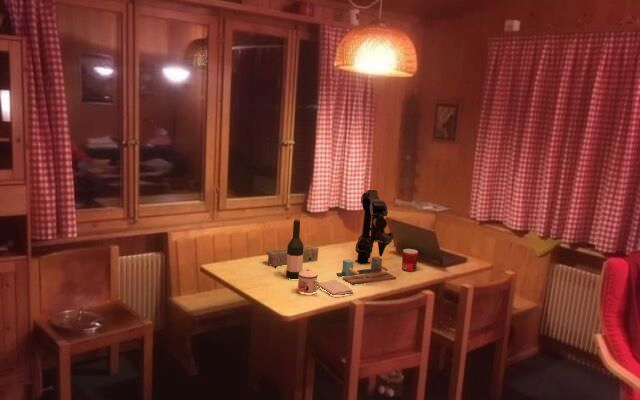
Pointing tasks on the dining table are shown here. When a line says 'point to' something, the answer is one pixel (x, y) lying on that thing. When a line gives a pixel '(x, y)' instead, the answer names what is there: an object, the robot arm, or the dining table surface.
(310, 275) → the teacup with lid
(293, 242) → the wine bottle
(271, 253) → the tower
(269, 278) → the dining table surface
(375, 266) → the gauge rail
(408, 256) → the canned food
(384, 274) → the hole board
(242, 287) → the dining table surface
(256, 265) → the dining table surface
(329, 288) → the washcloth
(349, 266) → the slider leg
